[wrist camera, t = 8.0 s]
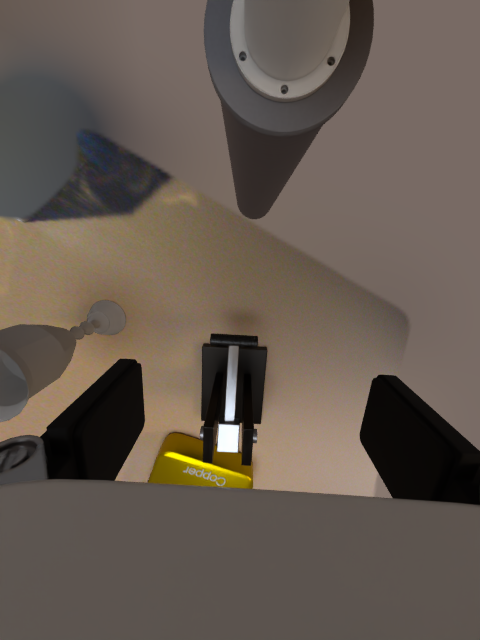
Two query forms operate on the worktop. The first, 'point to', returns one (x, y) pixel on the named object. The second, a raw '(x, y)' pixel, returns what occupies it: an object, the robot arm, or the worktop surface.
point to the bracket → (246, 396)
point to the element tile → (198, 465)
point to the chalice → (45, 354)
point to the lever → (231, 389)
